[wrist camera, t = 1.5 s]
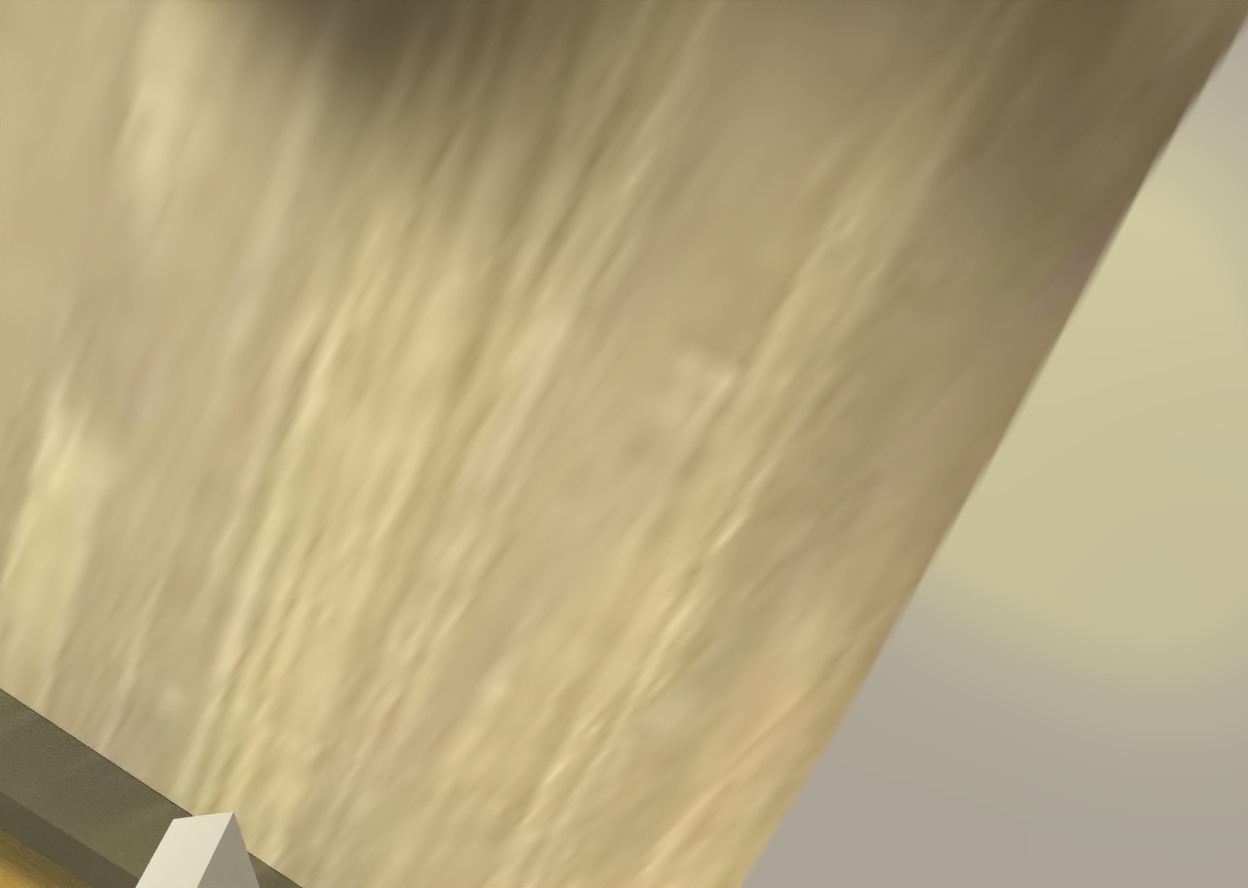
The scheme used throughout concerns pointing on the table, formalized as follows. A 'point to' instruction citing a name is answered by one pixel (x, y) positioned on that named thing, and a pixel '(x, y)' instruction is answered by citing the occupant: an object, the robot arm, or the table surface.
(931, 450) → the table surface
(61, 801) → the yellow and grey tray
